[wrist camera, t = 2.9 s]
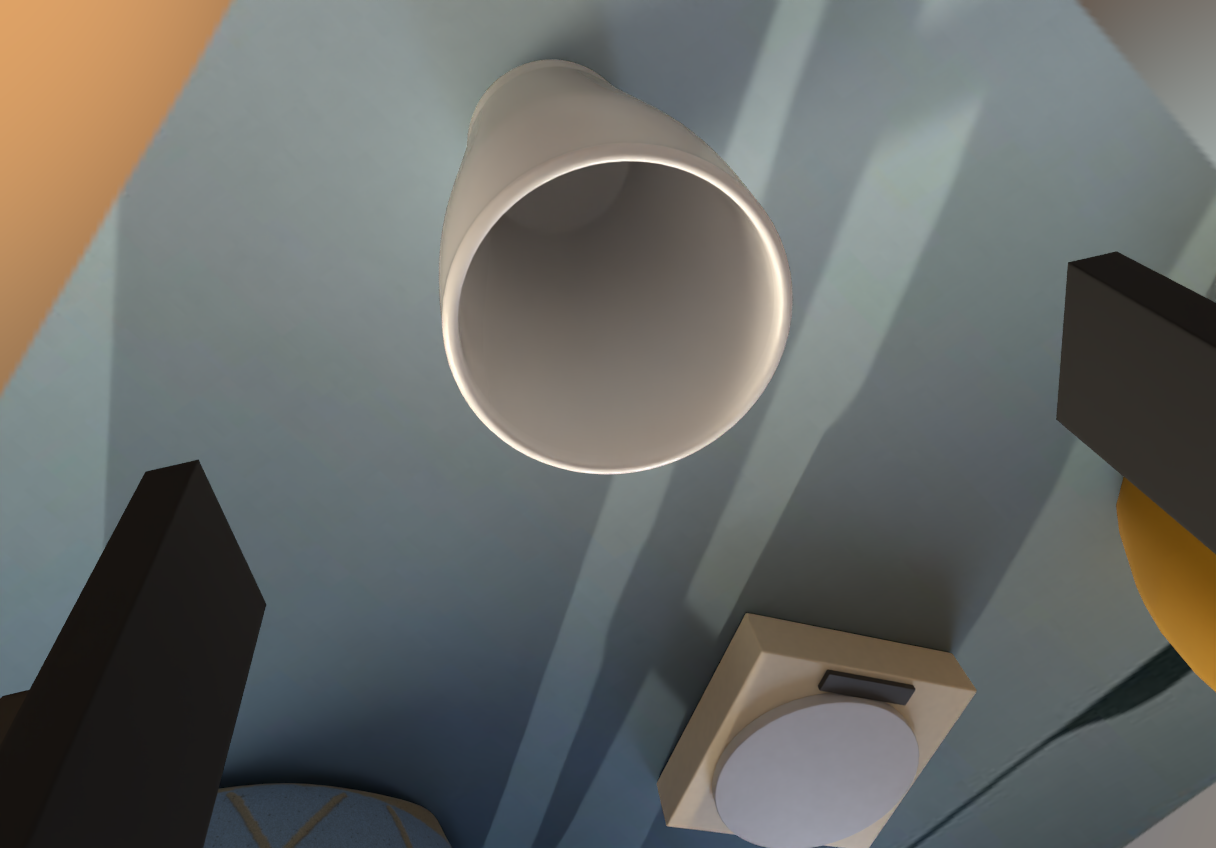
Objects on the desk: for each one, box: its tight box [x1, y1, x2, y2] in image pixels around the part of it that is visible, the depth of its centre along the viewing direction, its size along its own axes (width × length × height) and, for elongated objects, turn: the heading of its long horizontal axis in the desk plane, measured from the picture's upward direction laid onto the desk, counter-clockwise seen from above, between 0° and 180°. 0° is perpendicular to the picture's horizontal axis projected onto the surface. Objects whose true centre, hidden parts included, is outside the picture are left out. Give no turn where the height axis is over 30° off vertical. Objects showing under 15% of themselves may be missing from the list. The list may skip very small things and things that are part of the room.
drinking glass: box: [439, 59, 793, 474], centre depth 24 cm, size 7×7×15 cm
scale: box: [657, 613, 976, 848], centre depth 44 cm, size 11×11×3 cm
